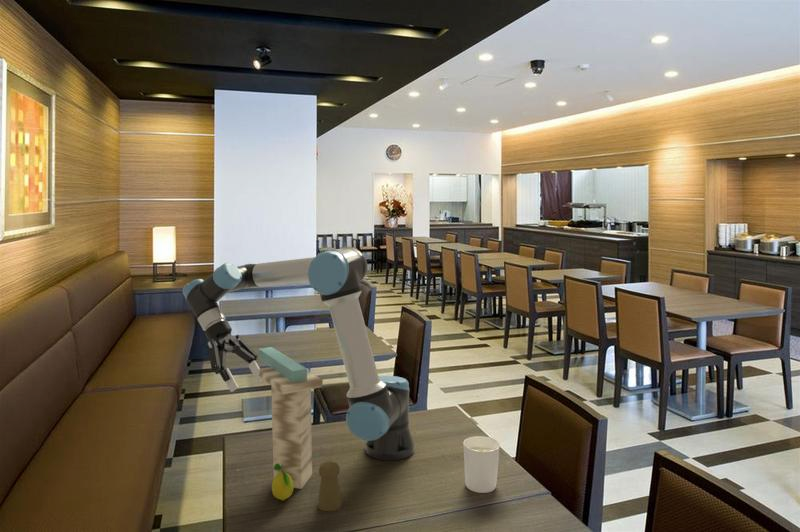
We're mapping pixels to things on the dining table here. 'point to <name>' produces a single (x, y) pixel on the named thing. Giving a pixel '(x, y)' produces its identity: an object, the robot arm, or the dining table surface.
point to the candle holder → (481, 463)
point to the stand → (292, 424)
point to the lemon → (282, 484)
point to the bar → (283, 364)
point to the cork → (329, 487)
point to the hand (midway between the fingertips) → (248, 384)
